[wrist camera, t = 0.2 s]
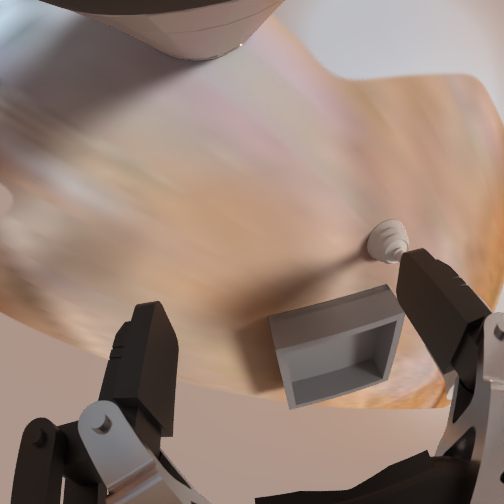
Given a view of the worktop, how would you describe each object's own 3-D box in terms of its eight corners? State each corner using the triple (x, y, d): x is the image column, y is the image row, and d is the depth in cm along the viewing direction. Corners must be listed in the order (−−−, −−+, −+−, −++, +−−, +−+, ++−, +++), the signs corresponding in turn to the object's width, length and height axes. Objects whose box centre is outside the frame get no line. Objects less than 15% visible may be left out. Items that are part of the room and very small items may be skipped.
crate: (267, 316, 34) (275, 350, 30) (386, 284, 34) (405, 311, 30) (283, 382, 42) (289, 409, 38) (375, 355, 42) (387, 380, 38)
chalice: (390, 273, 33) (470, 395, 18) (347, 260, 31) (429, 404, 16) (422, 221, 30) (528, 333, 15) (381, 201, 28) (502, 329, 13)
